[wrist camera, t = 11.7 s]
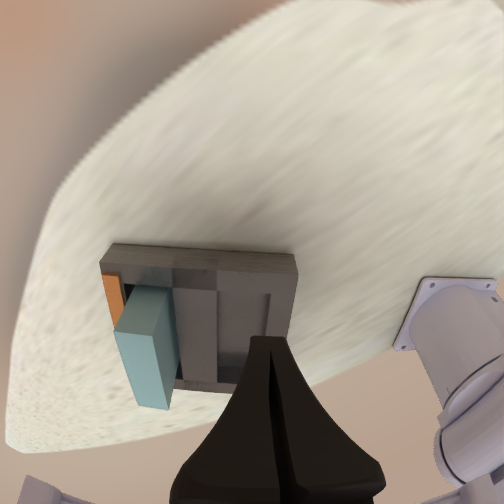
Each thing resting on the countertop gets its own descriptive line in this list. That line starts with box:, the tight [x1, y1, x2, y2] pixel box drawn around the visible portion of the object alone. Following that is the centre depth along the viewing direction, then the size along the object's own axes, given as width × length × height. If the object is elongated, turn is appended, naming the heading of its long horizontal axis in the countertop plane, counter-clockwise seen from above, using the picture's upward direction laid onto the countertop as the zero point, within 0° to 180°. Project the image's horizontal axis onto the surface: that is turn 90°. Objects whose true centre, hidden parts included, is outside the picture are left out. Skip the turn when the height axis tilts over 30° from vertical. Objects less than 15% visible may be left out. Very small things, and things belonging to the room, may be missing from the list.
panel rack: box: [99, 244, 298, 394], centre depth 23 cm, size 13×13×3 cm
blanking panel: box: [113, 284, 180, 410], centre depth 21 cm, size 2×8×6 cm, turn 176°
